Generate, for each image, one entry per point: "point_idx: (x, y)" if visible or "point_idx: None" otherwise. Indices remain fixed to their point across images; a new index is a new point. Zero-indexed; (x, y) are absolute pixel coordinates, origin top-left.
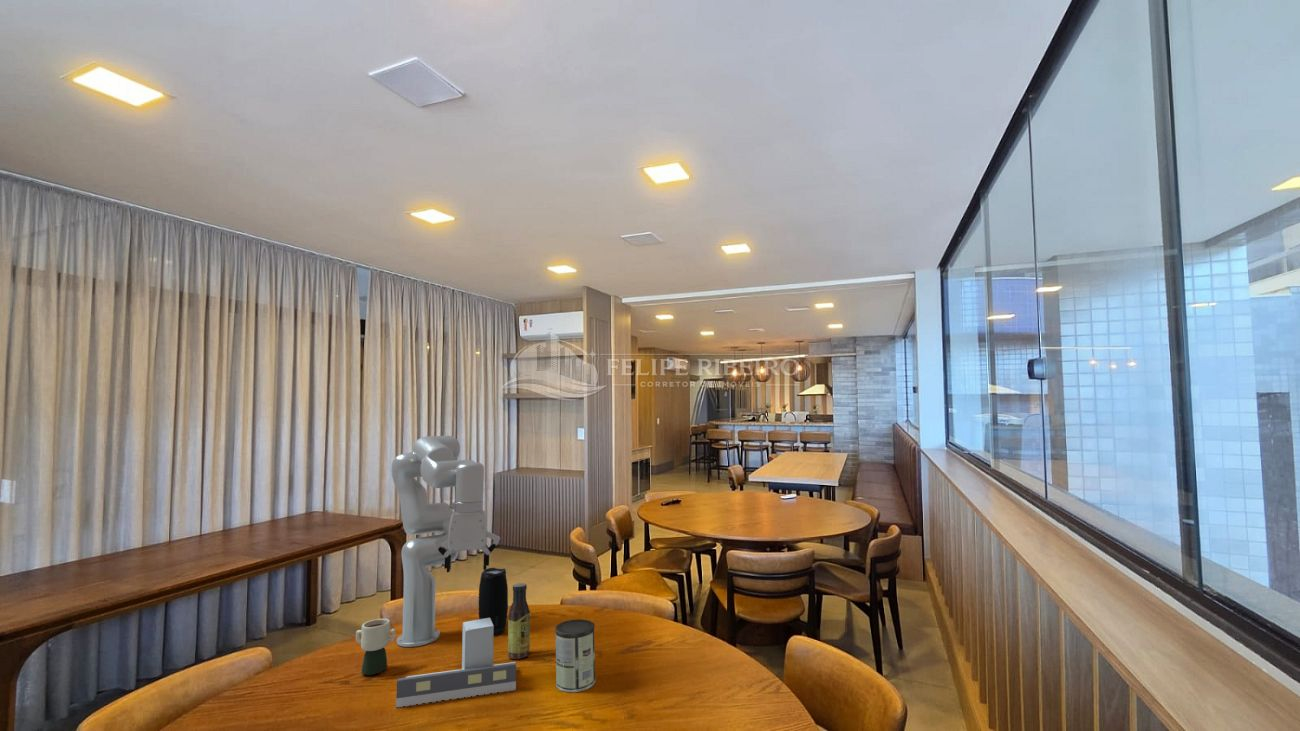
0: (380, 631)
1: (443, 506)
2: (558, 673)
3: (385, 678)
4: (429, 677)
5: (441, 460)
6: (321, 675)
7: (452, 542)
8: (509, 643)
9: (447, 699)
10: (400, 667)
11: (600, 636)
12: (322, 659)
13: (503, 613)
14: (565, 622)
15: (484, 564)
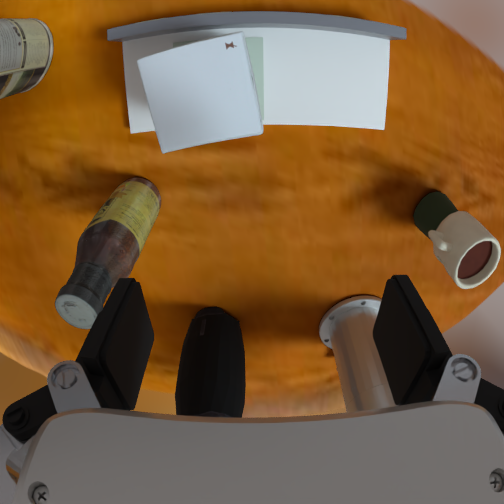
0: (469, 233)
1: None
2: (32, 30)
3: (414, 173)
4: (332, 15)
5: None
6: (491, 226)
7: (487, 481)
8: (148, 201)
9: None
10: (389, 214)
11: (13, 248)
12: (482, 282)
13: (187, 340)
14: None
15: (118, 300)
